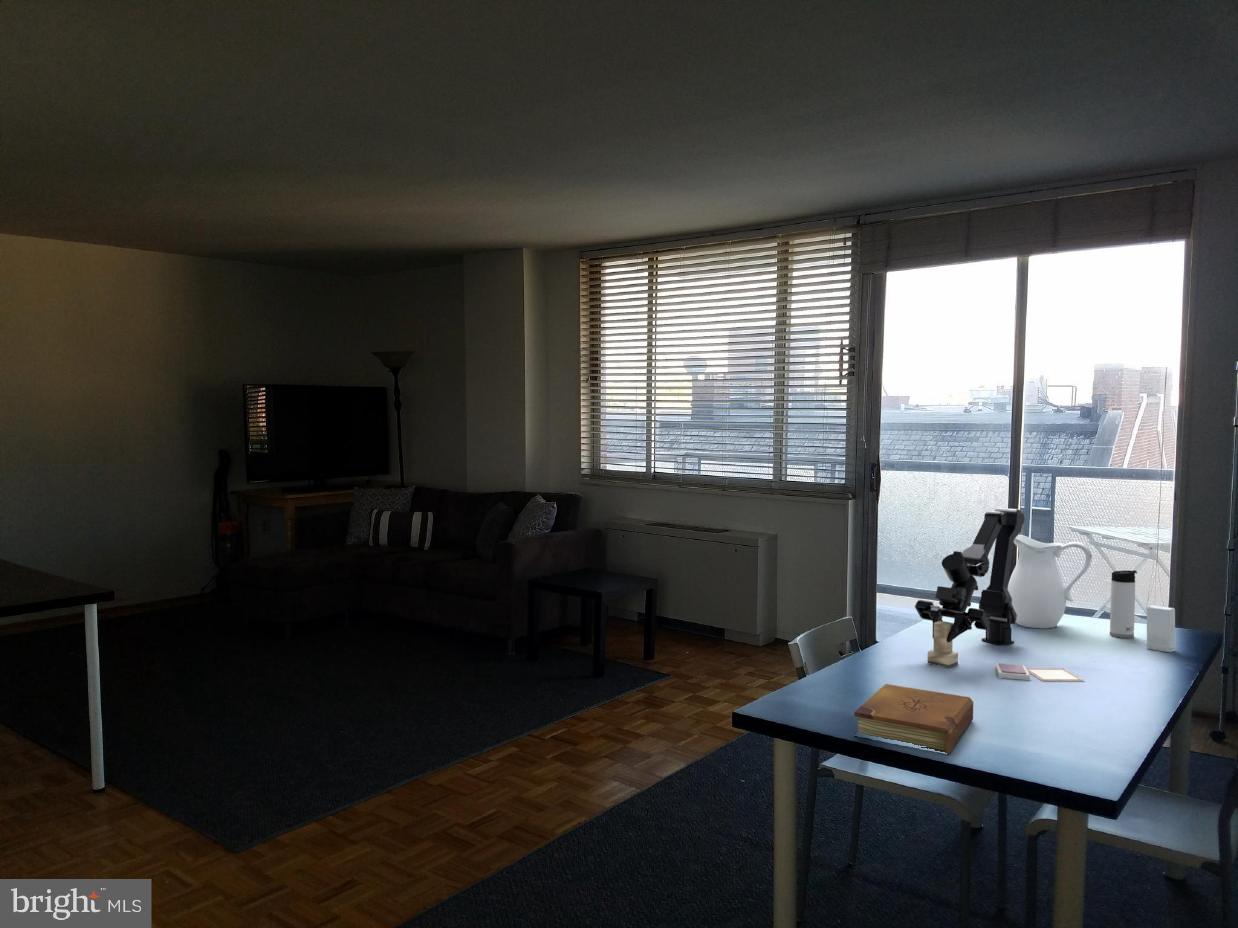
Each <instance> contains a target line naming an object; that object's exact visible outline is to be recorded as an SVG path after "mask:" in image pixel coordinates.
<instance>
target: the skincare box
mask: <svg viewBox="0 0 1238 928" xmlns="http://www.w3.org/2000/svg"><path fill="white" fill-rule="evenodd" d="M1146 649H1147V650H1148V649H1149V650H1154V651H1160V652H1166V653H1172V652H1175V650H1176V609H1175V608H1174V607H1169V606H1168V607H1167V606H1161V605H1149V606H1147V607H1146Z"/></svg>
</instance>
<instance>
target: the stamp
mask: <svg viewBox="0 0 1238 928" xmlns="http://www.w3.org/2000/svg"><path fill="white" fill-rule="evenodd" d="M953 623H954V622H949V621H938V622H935V623H934V639H933V649H930V650H928V651H927V662H928V663H930V664H929V665H933V664H935V665H934V666H937V665H940V666H939V667H942V666H943V668H947V667H948V668H947V669H950V668H952V667H955V666H958V665H959V652H957V651H953V642H954V641H953V640H954V639H953V640H952V641H950V642H947V637H948V634H949V632H950V630H951V627H952V625H953ZM928 663H927V664H928Z"/></svg>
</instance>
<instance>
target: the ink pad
mask: <svg viewBox="0 0 1238 928" xmlns="http://www.w3.org/2000/svg"><path fill="white" fill-rule="evenodd" d="M994 667H995V671H996V673H997V675H998V678H999V679H1000V678H1001V679H1012V680H1024V681H1030V680H1031V679H1030V678H1031V676H1030V675H1031V674H1030V673H1028V671H1027V669H1026V668H1027V667H1026V665H1022V664H1013V663H995V666H994Z"/></svg>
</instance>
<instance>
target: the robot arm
mask: <svg viewBox="0 0 1238 928" xmlns="http://www.w3.org/2000/svg"><path fill="white" fill-rule="evenodd" d="M1024 523H1025V514H1024V513H1023V512H1021V510H1020V509H1018V508H1005V507H997V508H995V510H989V511H986V512H985V513H984V518H983V522H982V524H981V525H980V528H979V530H978V532H977V533H976V536H975V538H974V540H973V541H972V544H971V546H970V547H967V548H965V549H964V550H963V551H956V550H954V551H953V553H950V554H949V555H946V556H945V557H944V558H943V559H942V560H941V566H942V568H943V570H944V572H945V574H946V576H947V578H948V580H949V581H950V582H952V584H951V586H950V587H947V586H940V585H938V586H937V587H936V592H935V596H934V597H935V598H934V599H938V600H939V602H938V604H939V605H940V606H942V607H940V606H938V605H934V603H933V601H931V600H924V599H918V600H917V601H916V603H915V604H914V609H915V610H916V612H917V614H918V615H919V617H920V619H923V620H926V621H931V622H932V639H933V640H934V623H935V622H938V621H943V617H945V618H951V619H954V621H953V622H952V623H953V625H952V627H951V630H950V632H949V634H948V637H947V642H950V641H952V640H955V639H956V638H957V637H959V636H960V635H962V634H963V633H965V632H967V631H971V630H973V629H972V628H973V627H972V625H973V626H974V627H975V628H976V629H978V630H984V631H985V637H984V638H981V641H983V642H986V643H990V644H992V645H997V646H1001V645H1010V644H1015V640H1012V633H1013V632H1012V627H1011V626H1012V625H1015V624H1017V623H1016V620H1017V614H1016V612H1015V610H1014V608H1013V606H1012V598H1011V595H1010V593H1009V591H1008V584H1009V580H1010V571H1011V563H1012V556H1013V550H1014V549H1013V548H1014V543H1013V542H1014V539H1015V538H1016V537H1017V536H1018V535H1020V533H1021V532H1022V529H1023V525H1024ZM994 543H995V544H994ZM993 545H994V551H993V559H992V566H991V571H990V579H989V580H990V581H989V584H988V587H986V588H985V589H982V591H981V592H980V594H981V595H980V600H979V602H978V608H973V607H971V606H972V603H971V599H972V596H973V594H974V592H975V591H978V590H979V585H978V581H977V579H976V577H978V578H979V577H980V578H982V577H983V578H984V577H985V576H986V574H988V572H989V569H990V563H991V562H990V559H989V554H990V551H991V550H992V548H993ZM968 607H969V608H968ZM967 608H968V609H967ZM966 611H967V612H966Z"/></svg>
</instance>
